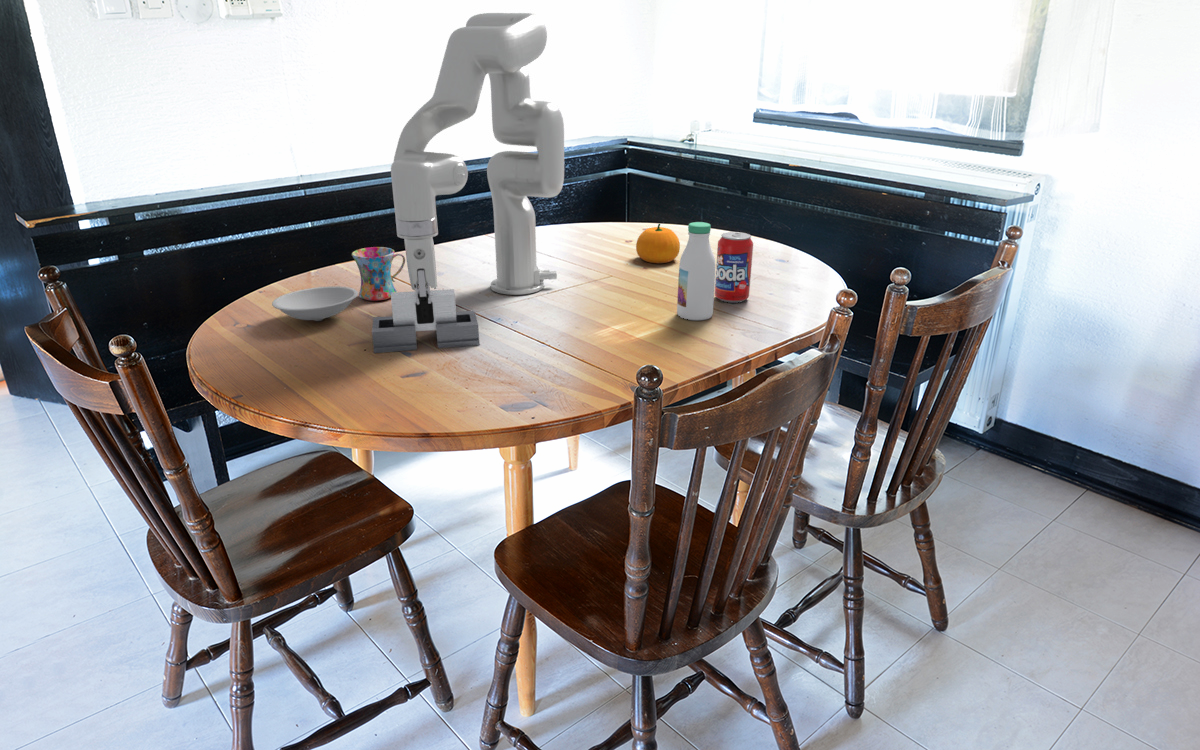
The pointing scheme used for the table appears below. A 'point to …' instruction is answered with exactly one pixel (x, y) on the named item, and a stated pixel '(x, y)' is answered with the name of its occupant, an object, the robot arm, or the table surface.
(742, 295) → the soda can
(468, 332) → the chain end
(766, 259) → the table surface
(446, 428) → the table surface
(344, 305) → the dish
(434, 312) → the gray trapezoid plate
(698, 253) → the milk bottle
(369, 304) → the table surface
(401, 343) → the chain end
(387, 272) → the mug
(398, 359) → the table surface
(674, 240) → the fruit
